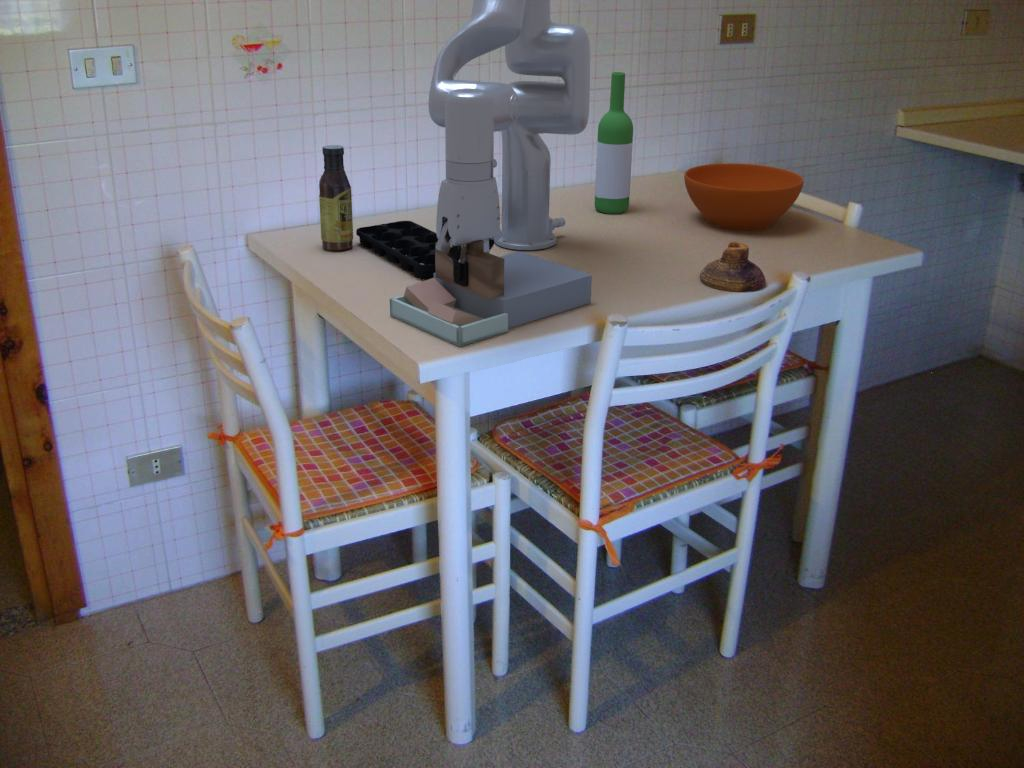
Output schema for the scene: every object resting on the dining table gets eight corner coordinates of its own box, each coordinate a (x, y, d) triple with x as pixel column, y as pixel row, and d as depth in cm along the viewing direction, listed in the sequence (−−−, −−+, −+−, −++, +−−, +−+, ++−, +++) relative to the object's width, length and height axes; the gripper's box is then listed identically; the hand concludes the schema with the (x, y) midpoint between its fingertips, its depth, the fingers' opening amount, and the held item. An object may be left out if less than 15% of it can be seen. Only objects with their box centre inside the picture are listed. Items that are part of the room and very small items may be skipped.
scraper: (449, 273, 180) (449, 227, 177) (504, 294, 171) (504, 246, 168) (435, 277, 179) (434, 231, 175) (489, 298, 169) (490, 250, 166)
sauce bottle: (347, 253, 207) (342, 151, 199) (317, 251, 208) (310, 149, 200) (358, 244, 213) (353, 144, 205) (328, 241, 214) (323, 142, 206)
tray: (437, 302, 182) (437, 285, 181) (507, 331, 170) (508, 314, 169) (390, 315, 176) (389, 298, 175) (459, 347, 164) (459, 328, 162)
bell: (746, 298, 187) (750, 258, 184) (687, 283, 194) (690, 244, 191) (777, 282, 195) (781, 243, 192) (719, 268, 202) (722, 231, 199)
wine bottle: (619, 216, 234) (626, 76, 222) (587, 211, 238) (593, 73, 226) (634, 209, 240) (642, 72, 228) (604, 204, 244) (610, 69, 232)
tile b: (431, 300, 168) (427, 312, 168) (455, 310, 164) (451, 323, 164) (458, 308, 172) (454, 320, 173) (482, 318, 168) (478, 330, 169)
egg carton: (433, 287, 191) (432, 267, 189) (332, 251, 210) (331, 233, 208) (502, 266, 202) (502, 247, 200) (400, 234, 221) (400, 216, 220)
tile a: (430, 286, 180) (433, 277, 178) (453, 308, 177) (456, 299, 176) (403, 295, 176) (406, 286, 174) (426, 318, 173) (429, 309, 172)
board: (519, 277, 195) (520, 251, 193) (590, 302, 183) (591, 275, 181) (434, 301, 183) (433, 273, 181) (503, 330, 170) (503, 300, 168)
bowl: (822, 226, 229) (828, 180, 225) (739, 244, 216) (744, 195, 212) (738, 201, 248) (742, 158, 244) (657, 216, 235) (660, 171, 231)
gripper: (493, 160, 175) (492, 267, 182) (413, 173, 165) (416, 286, 172) (524, 167, 170) (522, 278, 177) (443, 182, 159) (445, 298, 167)
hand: (469, 281), depth 174 cm, fingers closed on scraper, 3 cm apart
